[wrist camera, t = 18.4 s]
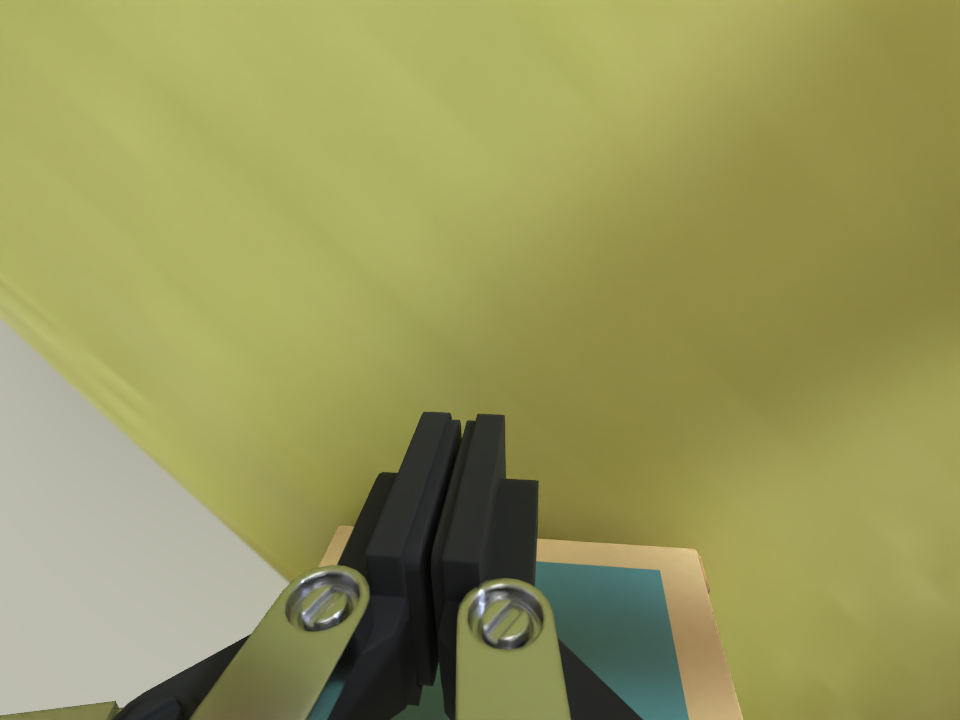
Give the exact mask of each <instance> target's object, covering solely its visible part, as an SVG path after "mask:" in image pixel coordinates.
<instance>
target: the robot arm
mask: <svg viewBox="0 0 960 720" xmlns="http://www.w3.org/2000/svg"><path fill="white" fill-rule="evenodd" d="M538 487H539V483H538V481H536V480H517V479H506V461H505V416H504V415H492V414H478V415H477V418H476V421H469V420H468V421H467V423H466V426H465V430H464V433H463V437H462V436H461V423H460V420H452V417H451V414H450V413H443V412H423V414H422V416H421V418H420V420H419V423H418V425H417V428H416V430H415V433H414V435H413V438H412V440H411V442H410V445H409V447H408V450H407V452H406V455H405V457H404V459H403V462H402V464H401V467H400V469H399V472H398V473H389V472H382V473H380V474H379V475H378V477H377V478H376V480H375V483H374V485H373V487H372V489H371V491H370V493H369V496H368V498H367V500H366V502H365V504H364V506H363V509H362V511H361V513H360V515H359V517H358V520H357V522H356V524H355V526H354V528H353V530H352V533H351V535H350V537H349V539H348V541H347V544H346V546H345V548H344V550H343V552H342V554H341V557H340V559H339V561H338V563H337V565H329V566H323V567H318V568H315V569H313V570H310V571H308V572H305V573H303V574H302V575H300V576H299V577H297V578H296V579H294V580H293V581H292V582H291V583H290V584H289V585H288V586H287V587H286V588H285V589H284V590H283V591H282V593H281V594H280V595H279V597H278V598H277V600H276V601H275V602H274V604H273V605H272V606H271V608H270V609H269V610H268V612H267V613H266V615H265V616H264V617H263V619H262V620H261V622H260V623H259V624H258V626H257V627H256V628H255V630H254V631H253V633H252V634H250V635H249V636H247V637H245V638H243V639H241V640H239V641H238V642H236V643H234V644H232V645H230V646H228V647H227V648H225V649H223V650H221V651H219V652H217V653H216V654H214V655H212V656H210V657H208V658H207V659H205V660H203V661H201V662H199V663H197V664H195V665H194V666H192V667H190V668H188V669H186V670H184V671H183V672H181V673H179V674H177V675H175V676H174V677H172V678H170V679H168V680H166V681H165V682H163V683H161V684H159V685H157V686H155V687H153V688H152V689H150V690H148V691H146V692H144V693H143V694H142V695H140V696H138V697H137V698H136V699H134V700H133V701H131V702H130V703H128V704H127V705H126V706H125V707H124V708H119V707H118V705H117V704H116V701H112V702H104V703H96V704H88V705H80V706H73V707H65V708H57V709H49V710H41V711H33V712H25V713H17V714H10V715H2V716H0V720H391V719H392V718H393V717H395V716H396V715H398V714H399V713H400V712H402V711H403V710H404V709H406V707H407V705H414V706H419V703H420V699H421V694H422V690H423V685H424V686H433V685H434V682H435V678H436V674H437V669H438V664H439V666H440V677H441V686H442V690H443V701H444V712H445V714H446V715H447V716H448V718H449V719H450V720H643V719H642V718H641V717H640V716H639V715H638V714H637V713H636V712H635V711H634V710H633V709H632V708H631V707H630V706H628V705H627V704H626V703H625V702H624V701H623V700H622V699H621V698H620V697H619V696H618V695H617V694H616V693H615V692H614V691H613V690H612V689H611V688H610V687H609V686H608V685H607V684H606V683H604V682H603V681H602V680H601V679H600V678H599V677H598V676H597V675H596V674H595V673H594V672H593V671H592V670H591V669H590V668H589V667H588V666H587V665H586V664H585V663H584V662H583V661H581V660H580V659H579V658H578V657H577V656H576V655H575V654H574V653H573V652H572V651H571V650H570V649H569V648H568V647H567V646H566V645H565V644H564V643H563V642H562V641H561V640H560V639H559V638H557V632H556V626H555V620H554V614H553V611H552V608H551V606H550V603H549V601H548V600H547V598H546V597H545V596H544V595H543V593H542V592H541V591H540V590H538V589H537V588H535V576H536V556H537V531H538Z"/></svg>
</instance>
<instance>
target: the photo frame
mask: <svg viewBox="0 0 960 720" xmlns="http://www.w3.org/2000/svg"><path fill="white" fill-rule="evenodd" d="M353 528H354V526H341V525H340V526H338V528H337V530H336V532H335V534H334V536H333V538H332V540H331V542H330V544H329V546H328V548H327V550H326V552H325V554H324V556H323V558H322V560H321V562H320V564H319V566H318V567H323V566H329V565H337V563H338V561H339V559H340V557H341V554H342V552H343V550H344V548H345V546H346V544H347V541H348V539H349V537H350V535H351V533H352V530H353ZM535 588H537V589H538V590H540V591H541V592H542V593H543V595H544V596H545V597H546V598H547V600H548V601H549V603H550V606H551V608H552V611H553V614H554V620H555V626H556V632H557V638H559V639H560V640H561V641H562V642H563V643H564V644H565V645H566V646H567V647H568V648H569V649H570V650H571V651H572V652H573V653H574V654H575V655H576V656H577V657H578V658H579V659H580V660H581V661H583V662H584V663H585V664H586V665H587V666H588V667H589V668H590V669H591V670H592V671H593V672H594V673H595V674H596V675H597V676H598V677H599V678H600V679H601V680H602V681H603V682H604V683H606V684H607V685H608V686H609V687H610V688H611V689H612V690H613V691H614V692H615V693H616V694H617V695H618V696H619V697H620V698H621V699H622V700H623V701H624V702H625V703H626V704H627V705H628V706H630V707H631V708H632V709H633V710H634V711H635V712H636V713H637V714H638V715H639V716H640V717H641V718H642V719H643V720H743V717H742V713H741V709H740V706H739V702H738V699H737V695H736V691H735V688H734V684H733V681H732V677H731V674H730V670H729V666H728V663H727V659H726V656H725V652H724V648H723V645H722V641H721V638H720V634H719V630H718V627H717V623H716V620H715V616H714V613H713V609H712V605H711V602H710V598H709V595H708V591H707V587H706V584H705V580H704V577H703V573H702V569H701V566H700V562H699V559H698V555H697V552H696V549H689V548H673V547H658V546H643V545H628V544H613V543H598V542H583V541H568V540H553V539H537V556H536V576H535ZM391 720H450V719H449V718H448V716H447V715H446V714H445V712H444V701H443V690H442V686H441V677H440V666H439V664H438V669H437V674H436V678H435V682H434V685H433V686H424V685H423V690H422V694H421V699H420V703H419V706H414V705H407V707H406V709H404V710H403V711H402V712H400V713H399V714H398V715H396V716H395V717H393V718H392V719H391Z"/></svg>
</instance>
